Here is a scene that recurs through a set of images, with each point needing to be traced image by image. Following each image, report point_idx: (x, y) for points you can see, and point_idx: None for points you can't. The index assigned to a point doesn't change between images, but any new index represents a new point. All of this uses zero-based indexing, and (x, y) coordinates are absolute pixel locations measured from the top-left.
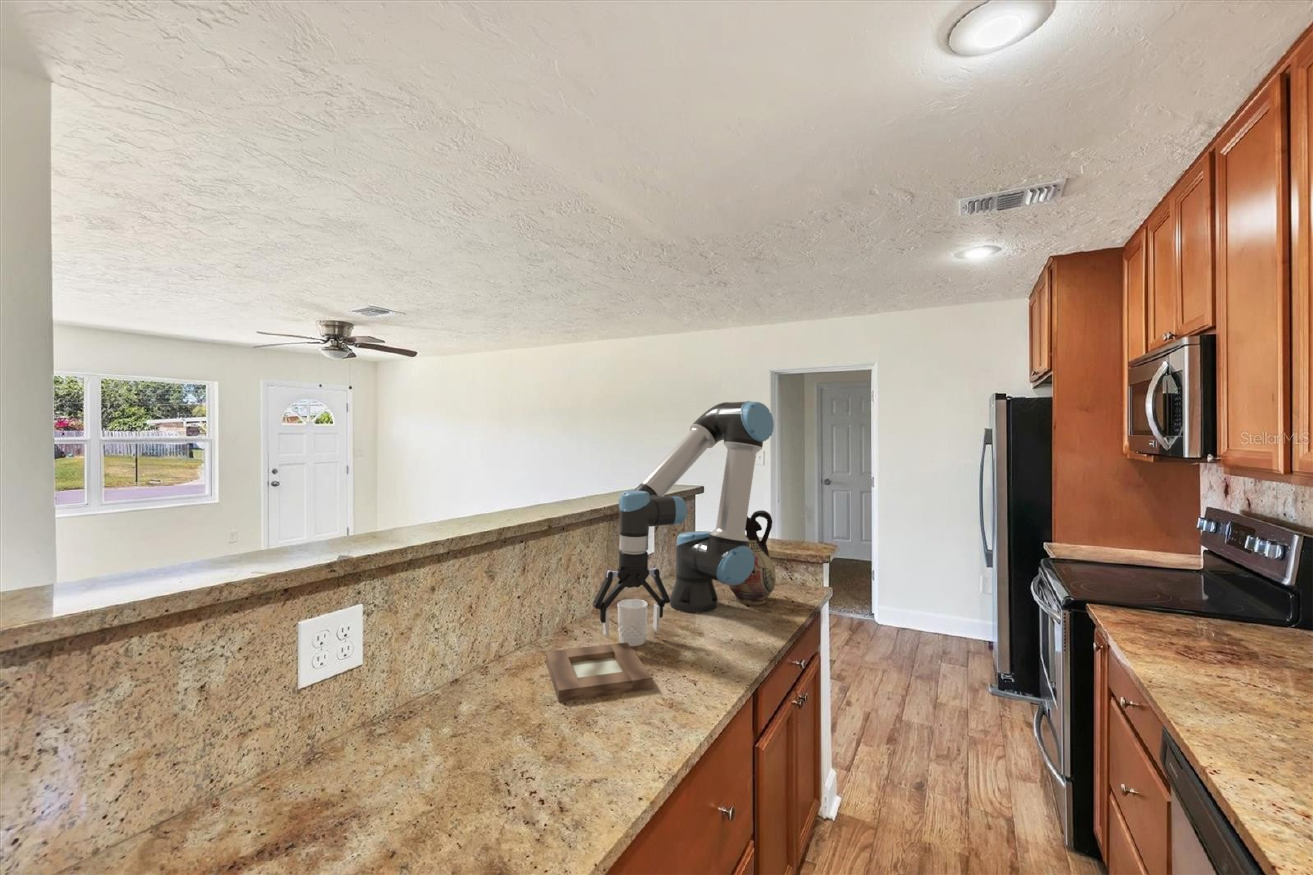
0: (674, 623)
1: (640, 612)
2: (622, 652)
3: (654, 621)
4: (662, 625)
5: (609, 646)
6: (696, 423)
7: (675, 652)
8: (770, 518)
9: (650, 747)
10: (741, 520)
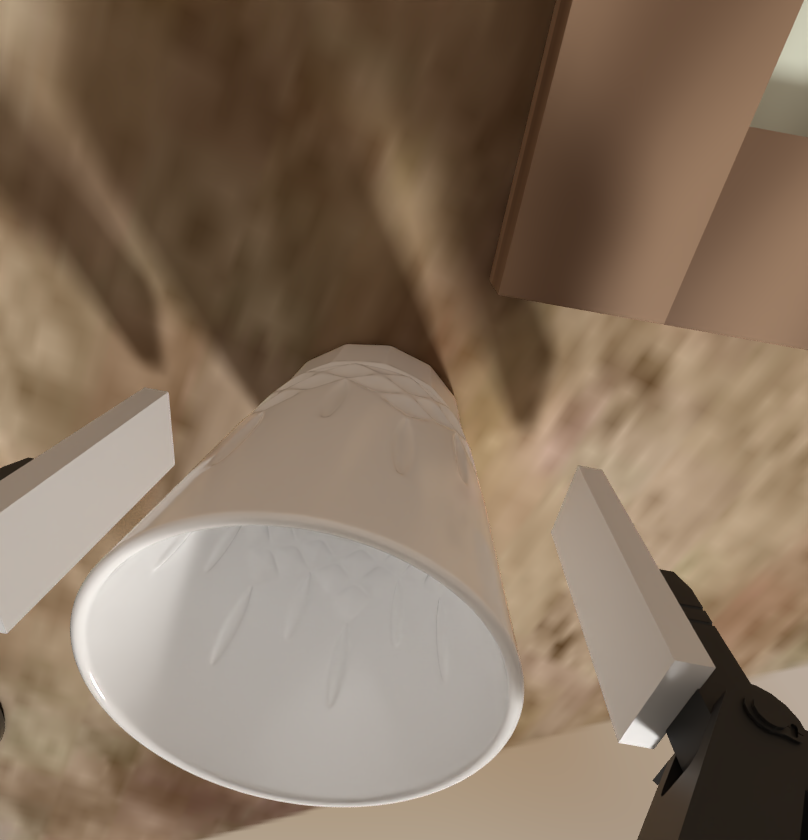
0: None
1: (265, 471)
2: (691, 55)
3: (132, 476)
4: (99, 554)
5: (696, 280)
6: None
7: (109, 76)
8: None
9: None
10: None
